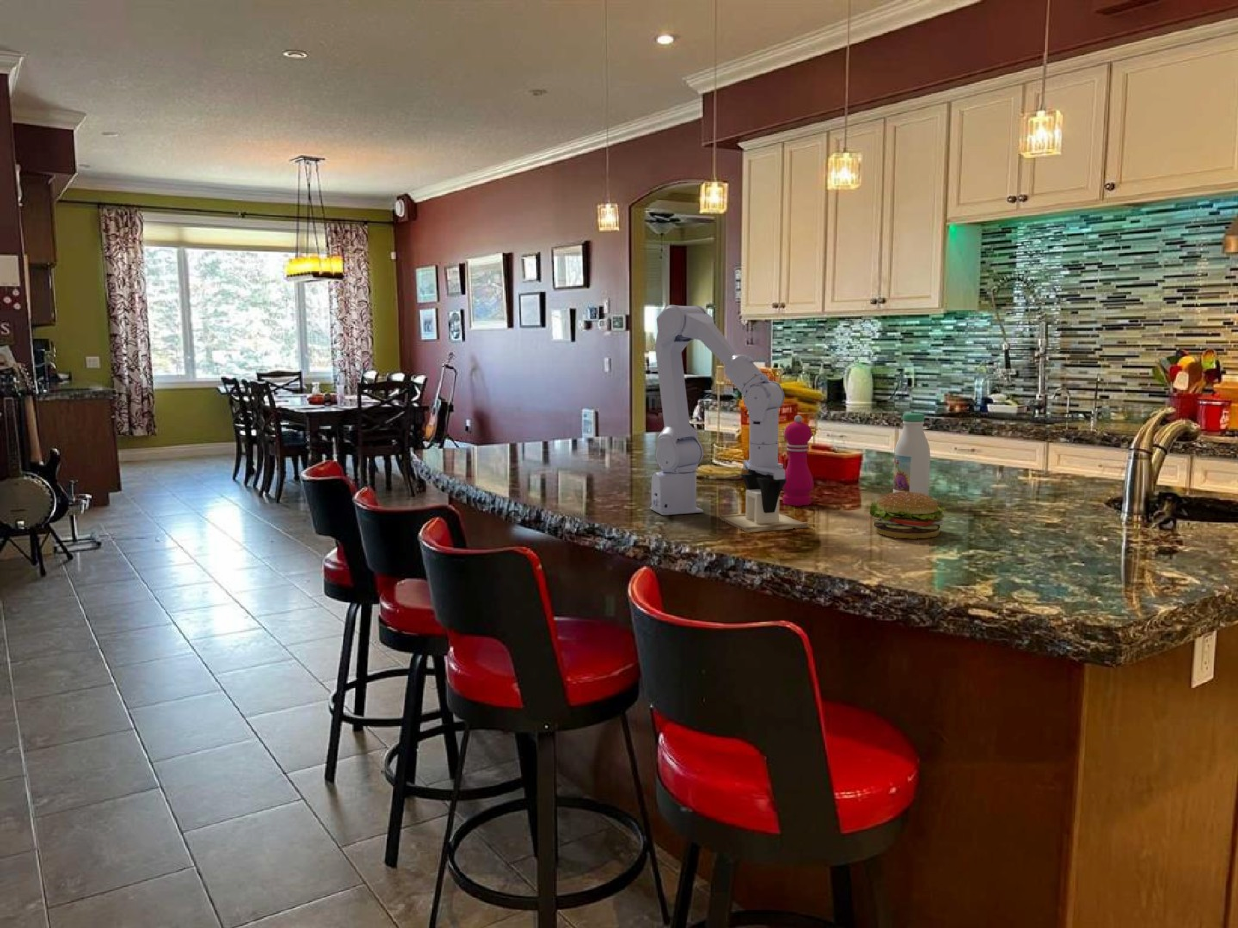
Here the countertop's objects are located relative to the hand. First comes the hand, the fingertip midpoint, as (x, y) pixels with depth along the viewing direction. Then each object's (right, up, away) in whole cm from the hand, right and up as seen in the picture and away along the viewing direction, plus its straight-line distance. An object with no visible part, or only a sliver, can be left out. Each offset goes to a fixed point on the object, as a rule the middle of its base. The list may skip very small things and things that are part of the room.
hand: (762, 509), depth 179 cm
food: (+26, -4, -9) cm, 28 cm away
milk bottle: (+37, +1, +22) cm, 43 cm away
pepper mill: (+11, 0, +21) cm, 24 cm away
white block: (0, -2, 0) cm, 2 cm away
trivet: (0, -3, 0) cm, 3 cm away
